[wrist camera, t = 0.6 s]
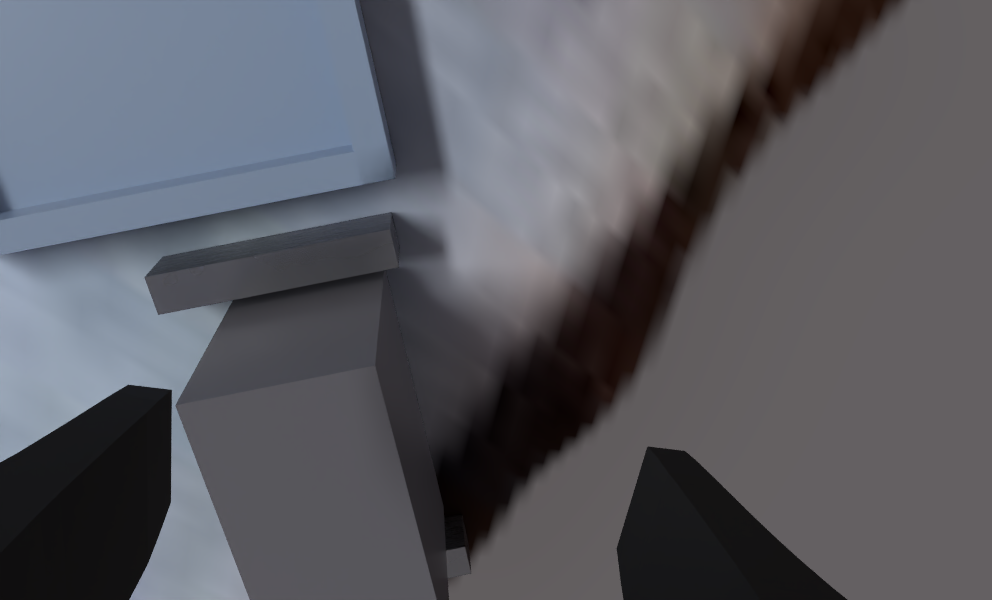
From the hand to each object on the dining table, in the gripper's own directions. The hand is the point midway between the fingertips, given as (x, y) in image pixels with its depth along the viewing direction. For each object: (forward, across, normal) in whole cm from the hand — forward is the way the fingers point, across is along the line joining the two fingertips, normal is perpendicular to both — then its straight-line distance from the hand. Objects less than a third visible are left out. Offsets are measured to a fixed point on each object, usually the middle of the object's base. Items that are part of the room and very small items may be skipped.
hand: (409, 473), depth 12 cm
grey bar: (+10, +2, +5) cm, 11 cm away
